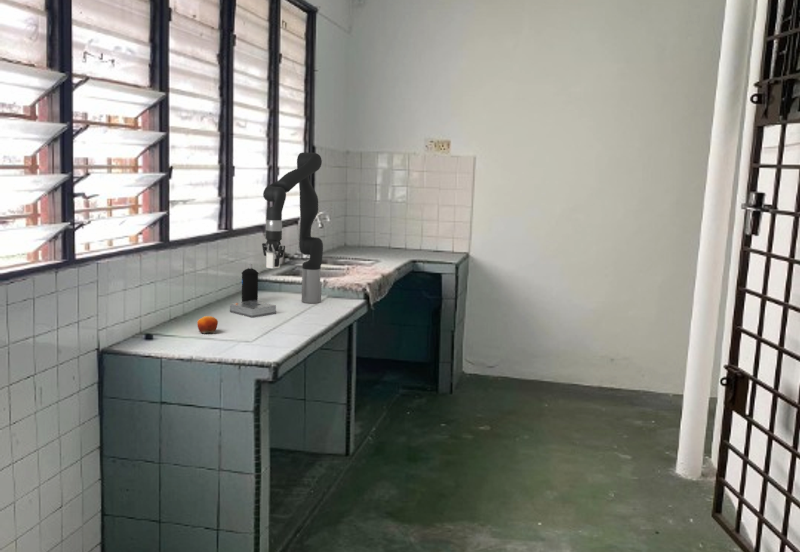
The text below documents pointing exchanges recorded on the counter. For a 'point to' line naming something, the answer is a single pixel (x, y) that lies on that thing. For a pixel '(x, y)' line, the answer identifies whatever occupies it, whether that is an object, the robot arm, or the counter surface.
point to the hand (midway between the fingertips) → (272, 265)
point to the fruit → (207, 324)
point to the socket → (252, 308)
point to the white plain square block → (271, 260)
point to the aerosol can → (249, 284)
